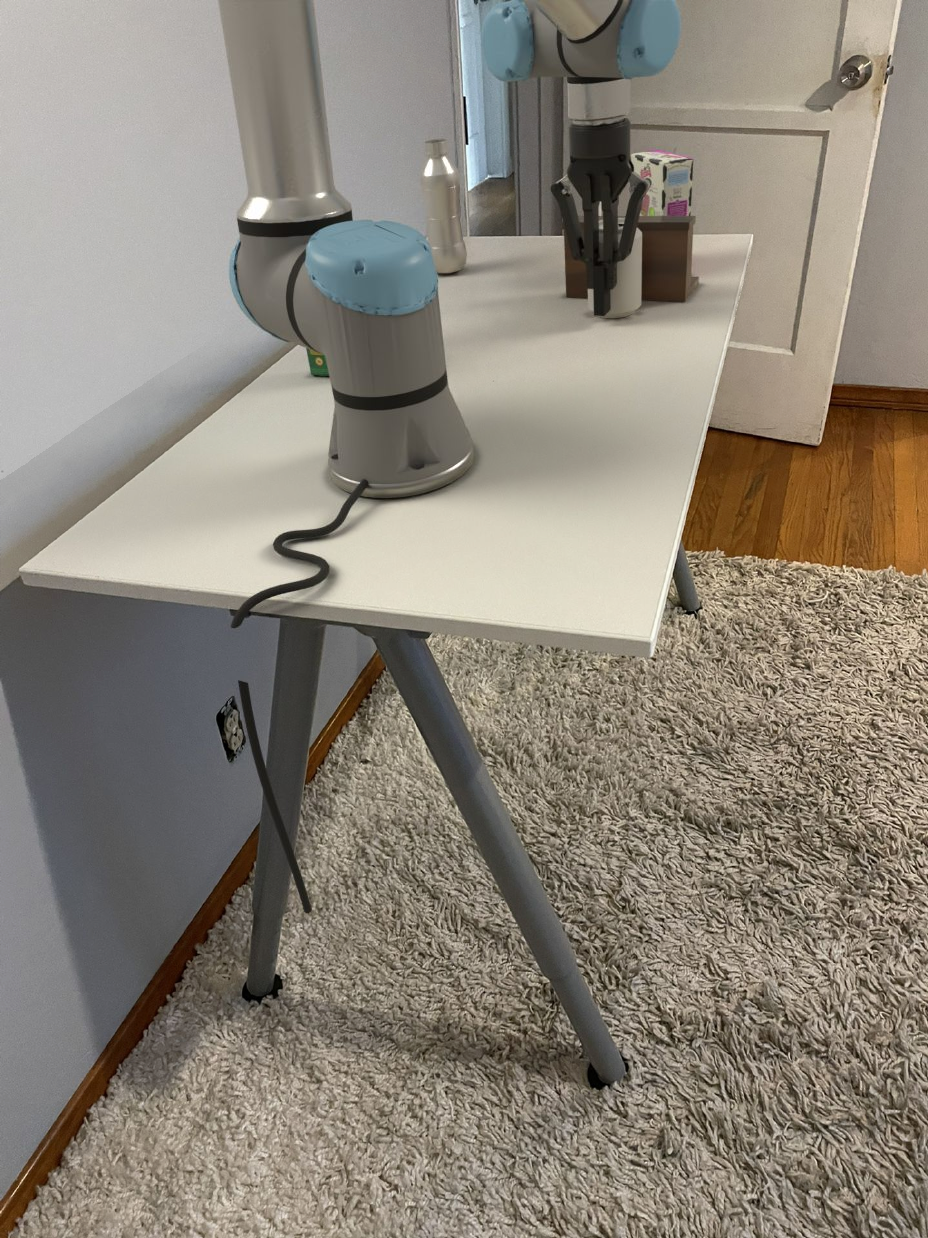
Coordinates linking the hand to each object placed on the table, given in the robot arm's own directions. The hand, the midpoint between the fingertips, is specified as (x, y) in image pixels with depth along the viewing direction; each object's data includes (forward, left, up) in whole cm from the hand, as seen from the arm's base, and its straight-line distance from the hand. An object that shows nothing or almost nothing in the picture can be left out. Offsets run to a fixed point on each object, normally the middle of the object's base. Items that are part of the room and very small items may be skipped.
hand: (602, 312), depth 126 cm
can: (+5, 0, -2) cm, 5 cm away
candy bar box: (+26, -1, -2) cm, 26 cm away
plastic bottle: (+22, +34, -2) cm, 40 cm away
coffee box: (-23, +28, -2) cm, 37 cm away
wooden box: (+14, 0, -2) cm, 14 cm away
